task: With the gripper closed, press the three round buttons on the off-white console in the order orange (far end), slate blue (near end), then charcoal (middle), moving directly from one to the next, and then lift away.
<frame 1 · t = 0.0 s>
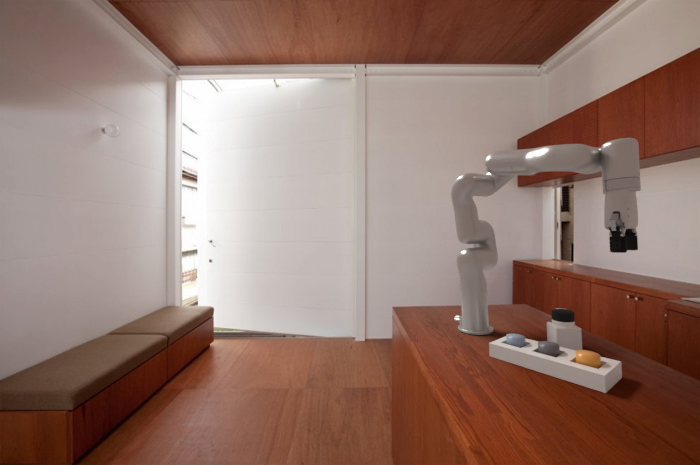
hand: (624, 251, 81), 31 cm above the worktop, tool pointing down, fingers open, 9 cm apart
medicine bottle: (564, 347, 97), on the worktop
charcoal button: (548, 350, 84), point 4 cm above the worktop, slide at 0.0 cm
console: (549, 365, 84), on the worktop
slate button: (515, 341, 92), point 4 cm above the worktop, slide at 0.0 cm
orange button: (588, 360, 77), point 4 cm above the worktop, slide at 0.0 cm
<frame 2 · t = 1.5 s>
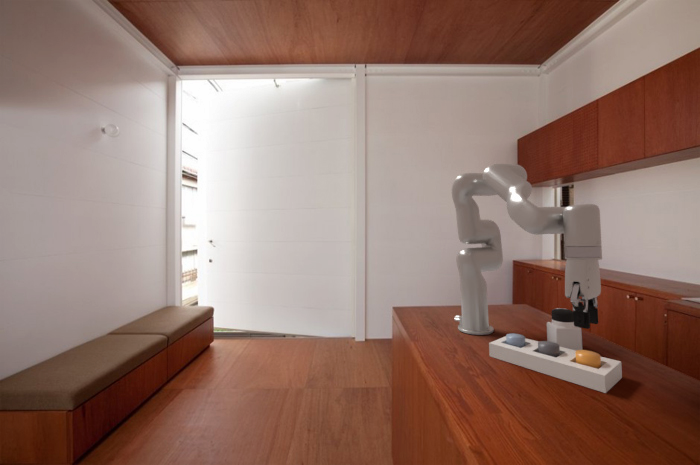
hand: (586, 324, 77), 13 cm above the worktop, tool pointing down, fingers open, 4 cm apart
nothing on the worktop moved.
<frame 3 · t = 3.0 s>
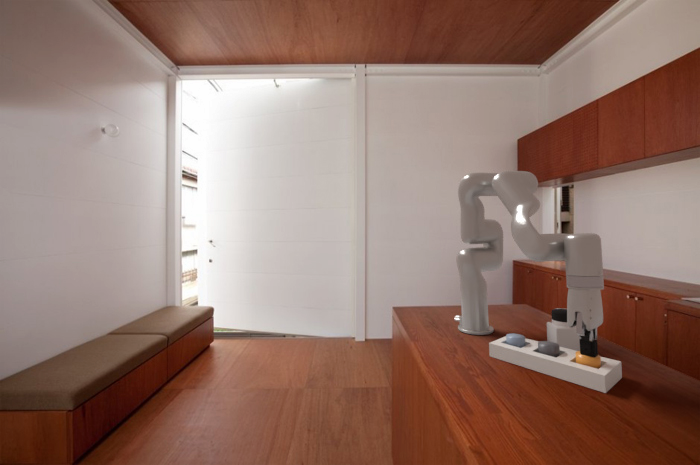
hand: (589, 355, 77), 6 cm above the worktop, tool pointing down, fingers closed
orange button: (588, 361, 77), point 4 cm above the worktop, slide at 0.3 cm, touching gripper
everything else where it was.
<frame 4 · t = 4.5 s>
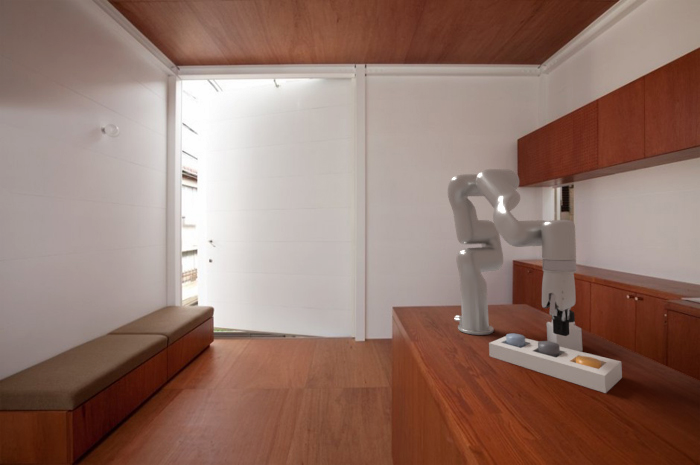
hand: (561, 334, 82), 10 cm above the worktop, tool pointing down, fingers closed
orange button: (588, 367, 77), point 3 cm above the worktop, slide at 1.6 cm
everything else where it was.
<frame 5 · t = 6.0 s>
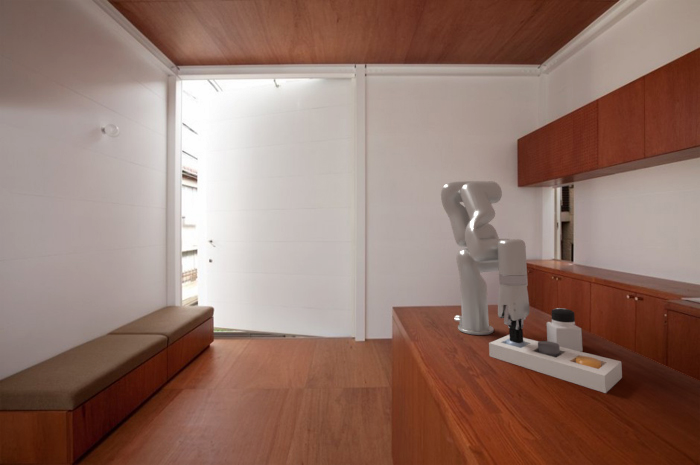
hand: (516, 341, 91), 5 cm above the worktop, tool pointing down, fingers closed
slate button: (515, 347, 92), point 3 cm above the worktop, slide at 1.5 cm, touching gripper
everything else where it was.
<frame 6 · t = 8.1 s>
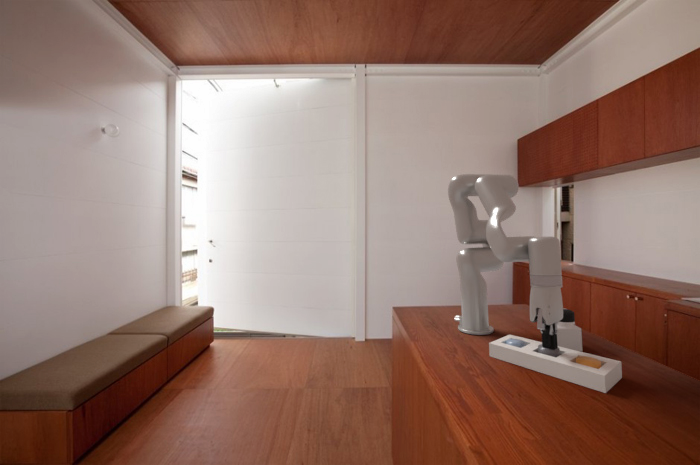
hand: (550, 347, 84), 5 cm above the worktop, tool pointing down, fingers closed
charcoal button: (548, 353, 84), point 3 cm above the worktop, slide at 0.9 cm, touching gripper
slate button: (515, 347, 92), point 3 cm above the worktop, slide at 1.6 cm
everything else where it was.
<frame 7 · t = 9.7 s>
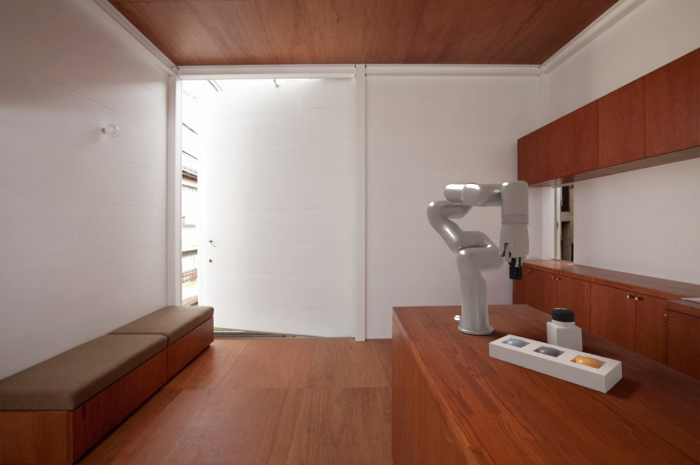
hand: (515, 279, 96), 22 cm above the worktop, tool pointing down, fingers closed
charcoal button: (549, 356, 84), point 3 cm above the worktop, slide at 1.6 cm
everything else where it was.
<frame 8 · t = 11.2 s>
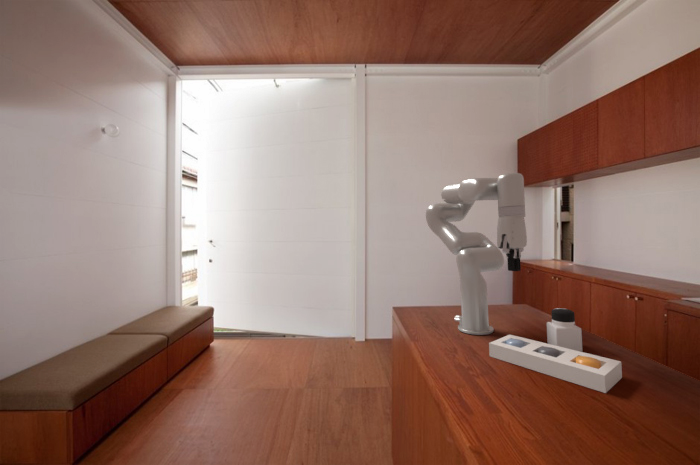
hand: (514, 270, 97), 25 cm above the worktop, tool pointing down, fingers closed
nothing on the worktop moved.
at the end: orange button slide at 1.6 cm; slate button slide at 1.6 cm; charcoal button slide at 1.6 cm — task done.
